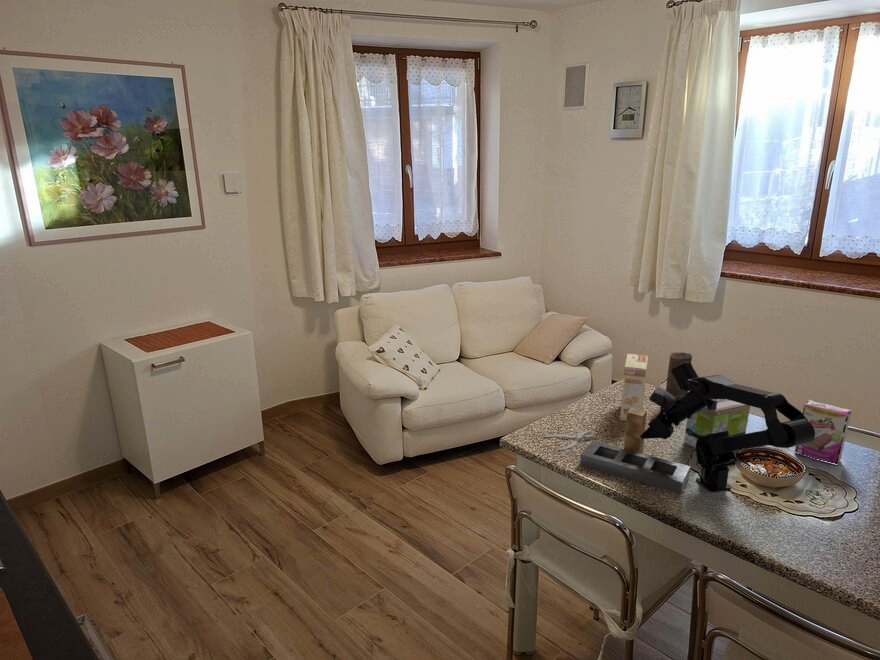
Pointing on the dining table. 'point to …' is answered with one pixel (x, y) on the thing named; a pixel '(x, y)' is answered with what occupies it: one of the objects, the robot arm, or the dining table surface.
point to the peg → (635, 429)
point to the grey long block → (636, 466)
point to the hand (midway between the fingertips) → (645, 431)
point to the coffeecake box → (633, 383)
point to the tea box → (717, 420)
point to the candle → (674, 361)
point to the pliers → (577, 438)
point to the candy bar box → (825, 431)
